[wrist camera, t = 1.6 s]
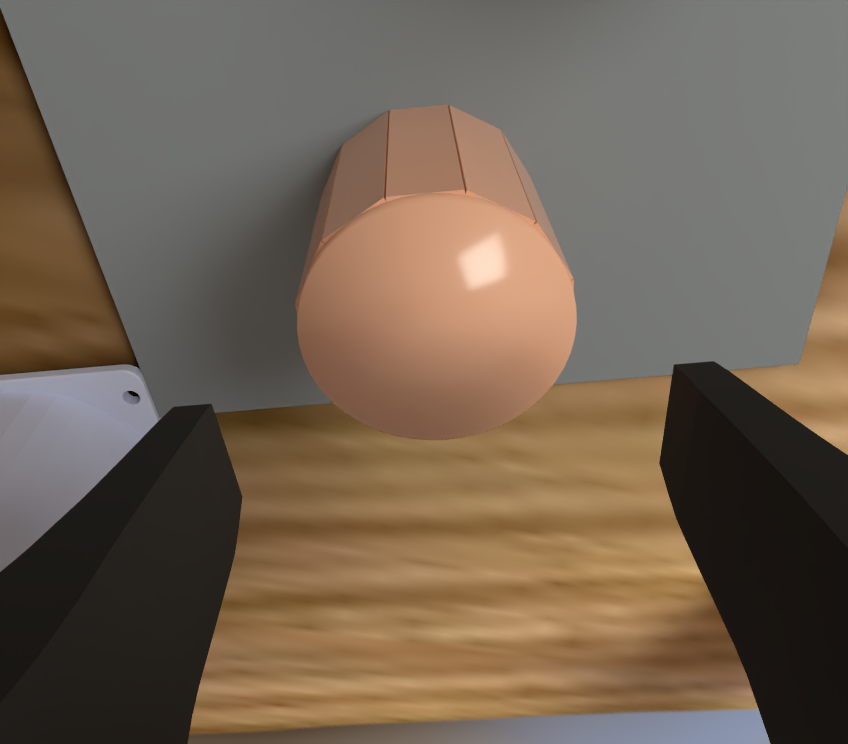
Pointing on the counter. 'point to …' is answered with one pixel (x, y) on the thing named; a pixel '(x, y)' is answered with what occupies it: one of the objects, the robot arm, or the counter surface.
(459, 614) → the counter surface
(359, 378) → the peach domed cylinder
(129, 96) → the slate mat
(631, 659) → the counter surface
